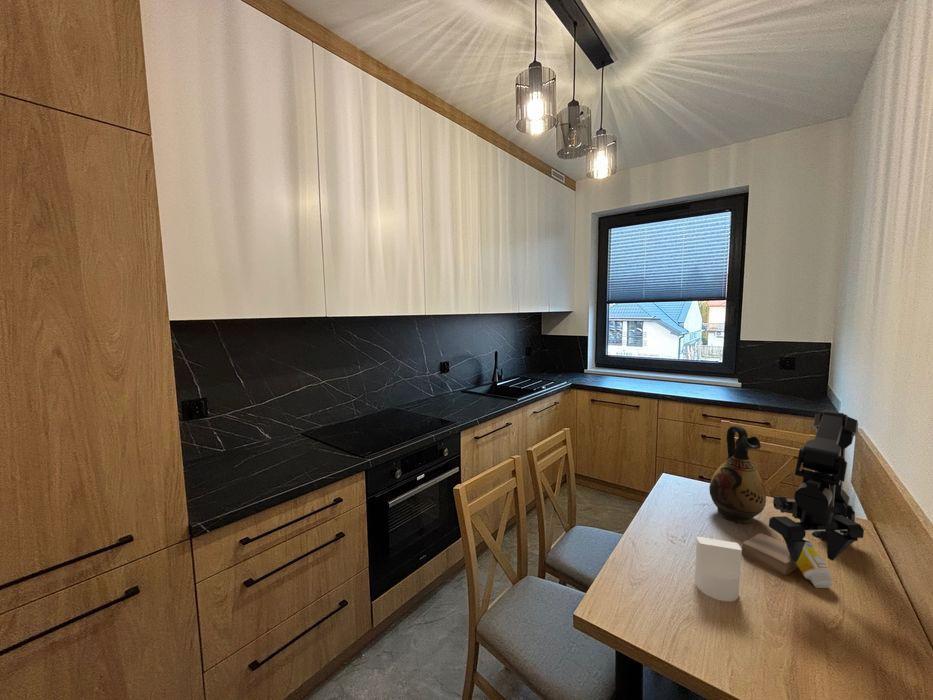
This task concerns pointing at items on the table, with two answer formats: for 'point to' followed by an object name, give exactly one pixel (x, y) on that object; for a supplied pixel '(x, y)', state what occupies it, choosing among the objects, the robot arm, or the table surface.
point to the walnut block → (769, 553)
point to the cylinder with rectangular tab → (718, 568)
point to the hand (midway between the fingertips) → (812, 560)
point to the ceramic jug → (738, 480)
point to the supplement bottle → (814, 566)
